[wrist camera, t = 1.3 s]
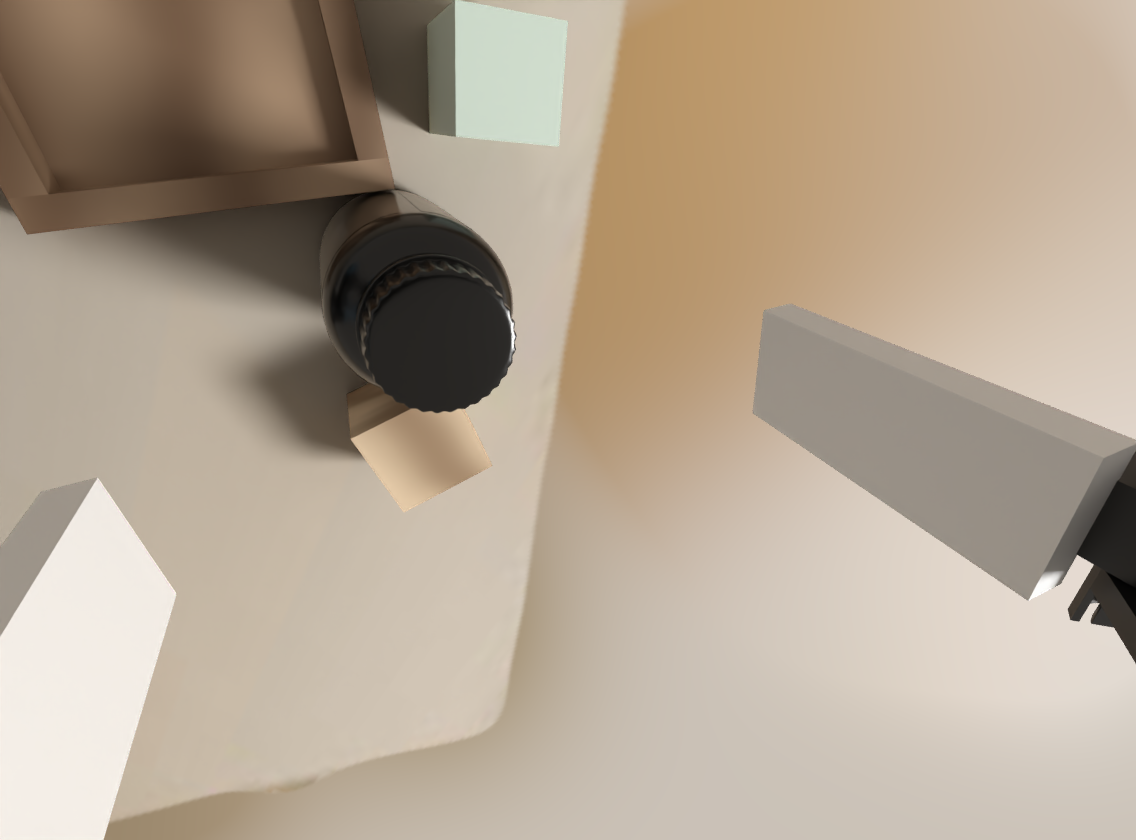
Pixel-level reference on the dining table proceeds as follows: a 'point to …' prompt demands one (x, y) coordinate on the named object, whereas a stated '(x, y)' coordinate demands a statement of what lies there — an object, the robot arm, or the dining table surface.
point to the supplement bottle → (416, 301)
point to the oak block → (413, 445)
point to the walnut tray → (182, 108)
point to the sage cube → (496, 74)
